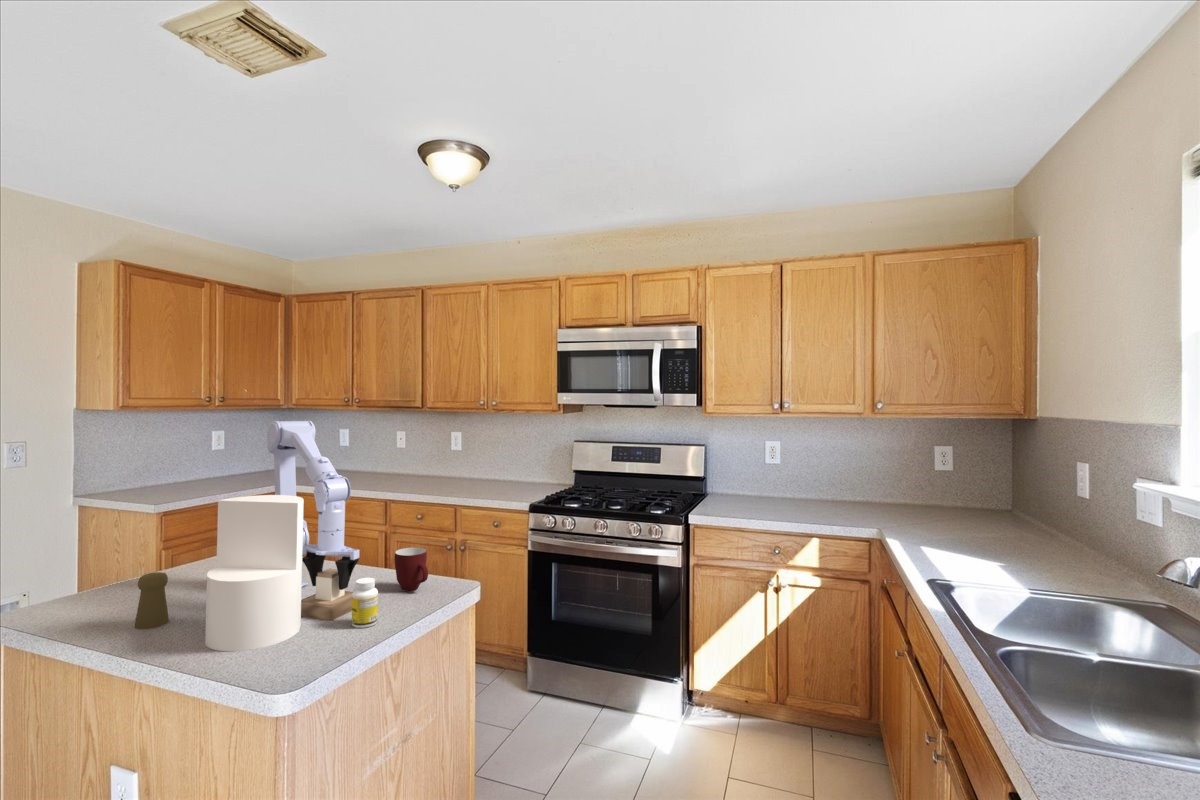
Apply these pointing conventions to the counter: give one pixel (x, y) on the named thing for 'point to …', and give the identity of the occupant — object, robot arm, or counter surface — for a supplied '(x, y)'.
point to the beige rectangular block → (328, 585)
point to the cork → (152, 601)
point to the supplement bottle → (365, 603)
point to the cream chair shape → (255, 573)
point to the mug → (411, 567)
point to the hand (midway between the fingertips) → (329, 586)
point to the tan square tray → (326, 607)
